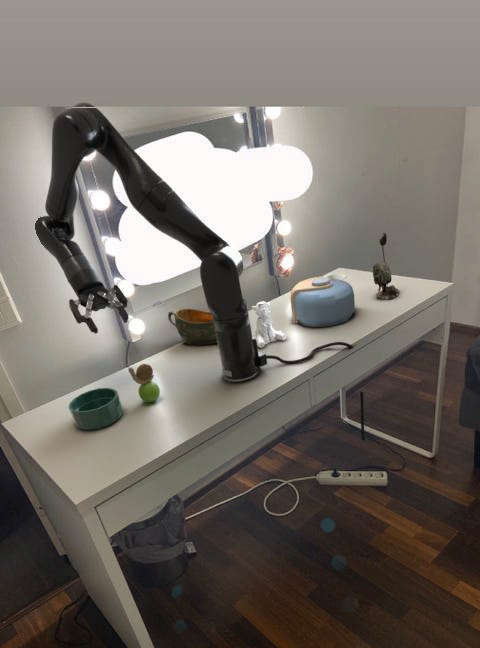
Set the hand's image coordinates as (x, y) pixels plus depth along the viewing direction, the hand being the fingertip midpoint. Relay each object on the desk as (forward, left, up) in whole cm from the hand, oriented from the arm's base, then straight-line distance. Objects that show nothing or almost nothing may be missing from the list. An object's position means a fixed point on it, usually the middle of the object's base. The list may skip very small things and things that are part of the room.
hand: (111, 326), depth 128 cm
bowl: (+13, +9, -18) cm, 24 cm away
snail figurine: (0, +12, -19) cm, 22 cm away
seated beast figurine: (-43, +7, -19) cm, 47 cm away
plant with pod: (-90, +13, -19) cm, 93 cm away
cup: (-32, -12, -19) cm, 39 cm away
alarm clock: (-66, +8, -19) cm, 69 cm away
